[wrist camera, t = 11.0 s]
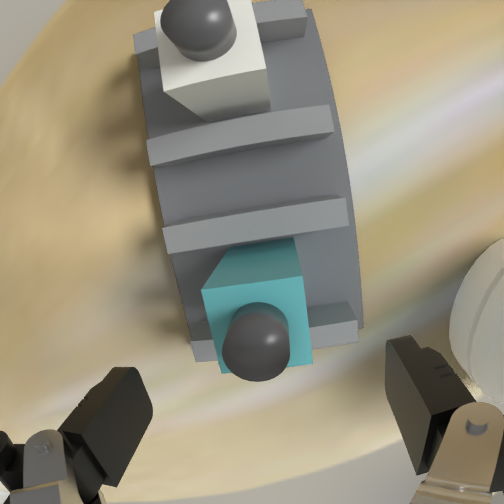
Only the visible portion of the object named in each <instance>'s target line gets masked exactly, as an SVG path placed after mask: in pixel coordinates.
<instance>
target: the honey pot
mask: <svg viewBox="0 0 504 504" xmlns="http://www.w3.org/2000/svg"><path fill="white" fill-rule="evenodd" d="M449 339H450V345H451V350H452V352H453V354H454V356H455V358H456V360H457V362H458V363H459V364H460V365H461V367H462V368H463V369H464V370H465V372H466V373H467V374H468V375H469V376H470V378H471V379H472V380H473V381H474V382H475V383H476V384H477V386H478V387H479V388H480V389H481V390H482V392H483V394H485V395H486V396H487V397H489V398H490V399H491V400H493V401H494V402H496V403H502V404H504V238H502V239H500V240H499V241H497V242H495V243H494V244H492V245H490V246H489V247H488V248H487V249H486V250H485V251H484V252H483V253H482V254H481V255H480V256H479V257H478V258H477V259H476V261H475V262H474V264H473V265H472V267H471V268H470V270H469V271H468V273H467V274H466V276H465V277H464V279H463V281H462V284H461V286H460V288H459V290H458V293H457V295H456V297H455V301H454V304H453V308H452V312H451V316H450V326H449Z"/></svg>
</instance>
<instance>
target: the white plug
mask: <svg viewBox="0 0 504 504" xmlns="http://www.w3.org/2000/svg"><path fill="white" fill-rule="evenodd" d="M154 16H155V25H156V35H157V43H158V52H159V60H160V68H161V76H162V83H163V90H164V92H165V93H167V94H168V95H169V96H171V97H172V98H174V99H175V100H177V101H178V102H179V103H181V104H182V105H184V106H185V107H187V108H188V109H189V110H191V111H192V112H194V113H195V114H196V115H198V116H199V117H200V118H202V119H203V120H205V121H206V122H211V121H216V120H221V119H225V118H230V117H235V116H241V115H246V114H251V113H257V112H263V111H269V110H271V103H270V95H269V86H268V78H267V70H266V65H265V60H264V55H263V51H262V46H261V42H260V37H259V33H258V28H257V24H256V20H255V15H254V11H253V7H252V3H251V0H170V1H169V2H168V3H167V5H166V6H165V7H164V9H162V10H159V11H156V12H154Z"/></svg>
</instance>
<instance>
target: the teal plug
mask: <svg viewBox="0 0 504 504" xmlns="http://www.w3.org/2000/svg"><path fill="white" fill-rule="evenodd" d="M201 292H202V296H203V300H204V305H205V309H206V313H207V317H208V322H209V326H210V330H211V334H212V338H213V342H214V346H215V350H216V354H217V358H218V362H219V366H220V369H221V373H233V374H235V375H236V376H238V377H240V378H242V379H244V380H248V381H255V382H259V381H266V380H270V379H272V378H275V377H276V376H278V375H279V374H281V373H282V372H283V371H284V369H285V368H286V367H292V366H300V365H307V364H313V360H312V350H311V341H310V332H309V324H308V315H307V307H306V299H305V291H304V283H303V276H302V271H301V267H300V263H299V258H298V254H297V250H296V246H295V242H294V237H291V238H285V239H278V240H271V241H265V242H258V243H252V244H245V245H239V246H232V247H230V248H229V249H228V251H227V252H226V254H225V255H224V257H223V258H222V259H221V261H220V262H219V264H218V265H217V267H216V268H215V270H214V271H213V273H212V274H211V276H210V277H209V279H208V280H207V282H206V283H205V285H204V286H203V288H202V289H201Z"/></svg>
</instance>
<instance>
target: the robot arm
mask: <svg viewBox="0 0 504 504" xmlns="http://www.w3.org/2000/svg"><path fill="white" fill-rule="evenodd" d="M385 389H386V395H387V399H388V401H389V404H390V406H391V409H392V411H393V414H394V416H395V419H396V421H397V424H398V427H399V429H400V432H401V434H402V437H403V440H404V442H405V445H406V448H407V450H408V453H409V455H410V458H411V461H412V464H413V467H414V469H415V472H416V475H420V474H423V473H427V472H428V474H427V476H426V478H425V480H424V481H422V482H421V484H420V485H419V487H418V489H417V491H416V493H415V495H414V497H413V498H412V500H411V502H410V504H490V502H491V498H492V492H498V491H503V493H504V415H503V414H502V412H501V411H500V410H499V409H498V408H497V407H495V406H494V405H491V404H489V403H484V402H476V400H475V399H474V398H473V396H472V395H471V393H470V392H469V391H468V389H467V388H466V387H465V385H464V384H463V382H462V381H461V380H460V378H459V377H458V376H457V374H455V373H454V370H453V369H452V368H451V366H449V365H448V363H447V361H446V360H445V359H444V357H443V356H442V355H441V354H440V353H438V352H436V351H435V350H433V349H431V348H429V347H427V348H423V349H421V348H420V347H419V346H418V344H417V343H416V341H415V340H414V339H413V337H412V336H411V335H409V336H404V337H400V338H395V339H391V340H387V342H386V364H385ZM152 415H153V407H152V403H151V401H150V398H149V396H148V393H147V391H146V389H145V386H144V384H143V381H142V379H141V376H140V374H139V371H138V370H137V369H136V368H135V367H114V368H112V369H111V371H110V372H109V373H108V374H107V376H106V377H105V378H104V379H103V380H102V381H101V382H100V383H98V384H97V385H96V386H94V387H93V388H91V389H90V391H89V392H88V393H87V394H86V396H85V397H84V399H82V400H81V402H80V403H79V404H78V407H77V406H76V408H75V409H74V410H73V411H72V413H71V414H70V415H69V416H68V417H67V419H66V420H65V421H64V422H63V424H62V425H61V426H60V427H59V429H58V430H57V431H56V430H43V431H40V432H38V433H36V434H34V435H33V436H31V437H30V438H29V439H28V440H27V442H26V444H13V443H12V441H11V440H10V438H9V437H8V435H7V434H6V433H5V432H3V431H0V481H1V482H2V484H3V485H4V486H5V487H6V488H7V489H8V491H9V492H10V495H9V496H8V498H7V499H6V501H5V502H4V504H106V501H105V498H104V495H103V493H102V491H101V490H100V487H101V486H102V484H104V485H109V486H113V487H117V486H118V484H119V482H120V480H121V478H122V476H123V474H124V472H125V470H126V468H127V466H128V464H129V462H130V460H131V459H132V457H133V455H134V453H135V451H136V449H137V447H138V445H139V443H140V441H141V439H142V437H143V435H144V433H145V431H146V429H147V427H148V425H149V423H150V421H151V419H152Z"/></svg>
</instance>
